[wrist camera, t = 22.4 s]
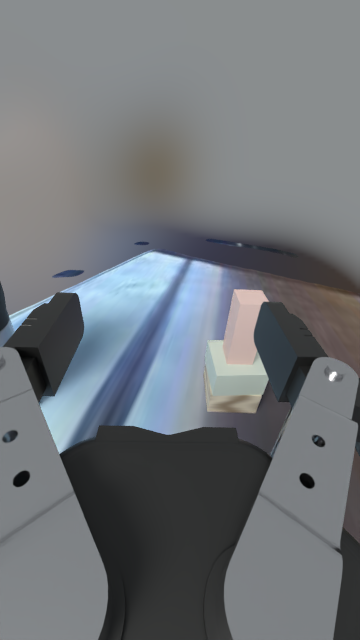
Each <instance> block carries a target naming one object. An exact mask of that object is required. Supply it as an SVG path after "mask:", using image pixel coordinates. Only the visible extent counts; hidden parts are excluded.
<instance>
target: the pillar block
mask: <svg viewBox="0 0 360 640" xmlns="http://www.w3.org/2000/svg"><path fill="white" fill-rule="evenodd" d="M263 302H269V301H268V300H267V298H266V297H265V295H264V293H263V292H262V291H261V290H236V289H234V292H233V297H232V302H231V307H230V312H229V317H228V322H227V327H226V332H225V337H224V342H223V351H224V355H225V359H226V363H227V364H240V365H253V362H254V359H255V356H256V352H257V348H256V346H255V343H254V329H255V325H256V322H257V318H258V315H259V311H260V307H261V305H262V303H263Z"/></svg>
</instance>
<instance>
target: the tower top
mask: <svg viewBox="0 0 360 640" xmlns="http://www.w3.org/2000/svg"><path fill="white" fill-rule="evenodd" d="M223 342H224V340H208V341H207V348H206V354H205V363H206V368H207V372H208V377H209V381H210V386H211V390H212V395H213V396H229V395H263V393H264V390H265V388H266V385H267V382H268V380H269V378H268V376H267V373H266V371H265V368H264V366H263V363H262V361H261V358H260V356H259V353H258V351H257V352H256V356H255V359H254V362H253V365H240V364H227V363H226V359H225V355H224V351H223Z"/></svg>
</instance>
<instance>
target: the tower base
mask: <svg viewBox="0 0 360 640" xmlns="http://www.w3.org/2000/svg"><path fill="white" fill-rule="evenodd" d="M204 384H205V394H206V403H207V412H235V413H256V411H257V408H258V405H259V403H260V400H261V397H262V396H261V395H229V396H213V395H212V390H211V386H210V381H209V377H208V372H207V368H206V363H205V369H204Z"/></svg>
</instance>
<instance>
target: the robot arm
mask: <svg viewBox="0 0 360 640" xmlns="http://www.w3.org/2000/svg"><path fill="white" fill-rule="evenodd" d="M83 332H84V322H83V317H82V312H81V307H80V301H79V297H78V295H77V294H76V293H60V292H58V293H56V294H55V296H54V297H53V298H52V299H51V301H50V302H49V303H48V304H46V303H44V304H42V305H41V306H39V307H37V308H36V309H34V310H33V311H32V312H31V313H30V315H29V316H28V317H27V319H25V321H24V322H23V323H22V326H20V327H19V328H18V329H17V330H16V331H14V328H13V326H12V323H11V321H10V318H9V315H8V313H7V310H6V304H5V297H4V292H3V289H2V286H1V283H0V640H360V544H359V543H358V542H357V541H356V540H355V539H354V538H353V537H352V536H351V535H350V534H349V533H348V532H347V531H346V530H345V529H344V528H343V520H344V514H345V507H346V501H347V495H348V488H349V482H350V476H351V469H352V463H353V457H354V450H355V448H356V450H357V452H358V454H359V456H360V378H358V376H357V374H356V372H355V371H354V370H353V369H352V368H351V367H349V366H348V365H347V364H345V363H343V362H341V361H339V360H336V359H333V358H329V357H328V356H327V354H326V353H325V352H324V350H323V349H322V347H321V346H320V345H319V343H318V342H317V341H316V339H315V338H314V337H312V334H311V332H310V331H309V330H308V328H307V327H306V325H305V324H304V322H303V321H302V320H301V319H299V318H298V317H296V316H295V315H294V314H289V312H288V311H287V309H286V308H285V306H284V305H283V303H281V302H263V303H262V305H261V307H260V311H259V315H258V318H257V322H256V325H255V329H254V343H255V346H256V348H257V351H258V353H259V356H260V358H261V361H262V363H263V366H264V368H265V371H266V373H267V376H268V378H269V381H270V383H271V386H272V388H273V391H274V393H275V396H276V398H277V401H278V402H290V404H291V409H290V411H289V413H288V415H287V417H286V420H285V422H284V424H283V426H282V429H281V431H280V433H279V436H278V438H277V440H276V442H275V445H274V447H273V449H272V451H271V453H270V455H269V454H267V453H266V452H265V451H263V450H261V449H260V448H258V447H257V446H255V445H253V444H251V443H248V442H246V441H243V440H240V439H238V436H237V431H236V428H213V427H202V428H198V429H194V430H189V431H185V432H181V433H177V434H172V435H165V434H161V433H157V432H153V431H150V430H146V429H142V428H139V427H135V426H99V428H98V432H97V436H96V437H93V438H90V439H87V440H84V441H81V442H79V443H77V444H75V445H73V446H71V447H70V448H68V449H66V450H65V451H63V452H62V453H61V454H59V453H58V450H57V448H56V445H55V443H54V440H53V438H52V435H51V433H50V430H49V428H48V425H47V423H46V420H45V418H44V415H43V413H42V410H41V408H40V405H39V401H40V399H41V397H42V396H55V394H56V392H57V390H58V387H59V385H60V383H61V381H62V379H63V377H64V375H65V373H66V371H67V368H68V366H69V364H70V362H71V360H72V358H73V356H74V354H75V352H76V349H77V347H78V345H79V343H80V341H81V339H82V337H83Z"/></svg>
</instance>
